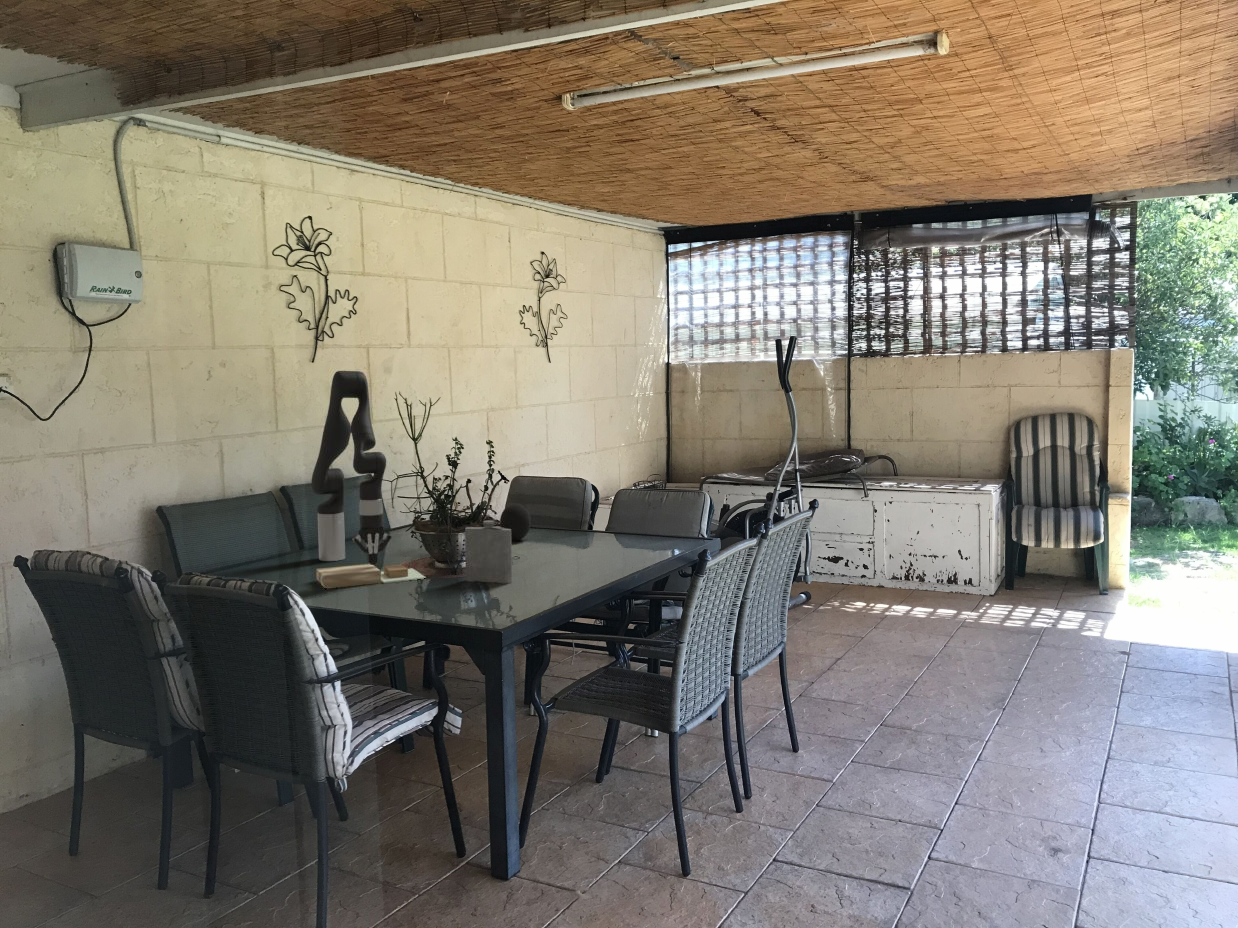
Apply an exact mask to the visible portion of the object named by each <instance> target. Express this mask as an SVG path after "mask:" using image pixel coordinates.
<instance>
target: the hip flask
mask: <svg viewBox="0 0 1238 928" xmlns="http://www.w3.org/2000/svg"><path fill="white" fill-rule="evenodd" d="M482 523H483V527H482V526H481V527H480V526H479V527H477V526H476V527H475V526H468V527H467V526H466V527H465V528H464V538H465V540H464V542H465V543H464V545H465V546H464V548H465V549H464V550H465V554H464V555H465V581H466V582H474V581H481V582H483V583H495V582H497V584H498V583H499V584H505V583H508V584H511V583H512V582H513V571H512V570H513V564H512V563H513V562H512V561H513V559H512V554H513V553H512V550H513V549H512V540H511V529H505V528H501V527H500V526H495V525H494V524H495V521H494V520H483V522H482ZM481 582H480V583H481Z"/></svg>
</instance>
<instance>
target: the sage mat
mask: <svg viewBox="0 0 1238 928" xmlns="http://www.w3.org/2000/svg"><path fill="white" fill-rule="evenodd" d="M407 569H408V576H407V577H397V578H389V577H388V576H386V575H385V574H384V570H382V571H381V583H383V584H392V583H400V582H402V581H403V582H408V581H409V580H412V581H417V579H421V580H425V579H424V578H426V577H427V576H425V575H423V574H422V573H420V572H419V571H417V570H416V569H414V568H411V567H410V568H407ZM426 579H427V578H426ZM409 582H410V581H409Z"/></svg>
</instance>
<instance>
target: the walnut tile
mask: <svg viewBox="0 0 1238 928" xmlns="http://www.w3.org/2000/svg"><path fill="white" fill-rule="evenodd" d="M408 569H409V568H407V567H406V566H404V565H403V564H395V565H385V566H383V571H384V574H385V575H386V576H388V577H389V578H397V577H407V576H408Z"/></svg>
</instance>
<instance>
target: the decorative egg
mask: <svg viewBox="0 0 1238 928" xmlns="http://www.w3.org/2000/svg"><path fill="white" fill-rule="evenodd" d="M531 521H532V520H531V515H530V512H529V510H528V509H527V508H526V507H525V506H524V505H522V504H520V503H511V504H509V505H508V506H506V507H505V508H504V509H503V510H502V511H501V514H500V518H499V527H501V528H505V529H511V542H512V541H514V542H517V541H520V540H523V539H524V538H525V537H526V536H527V535H528V533H529V531H530V528H531V525H532V523H531Z"/></svg>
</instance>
